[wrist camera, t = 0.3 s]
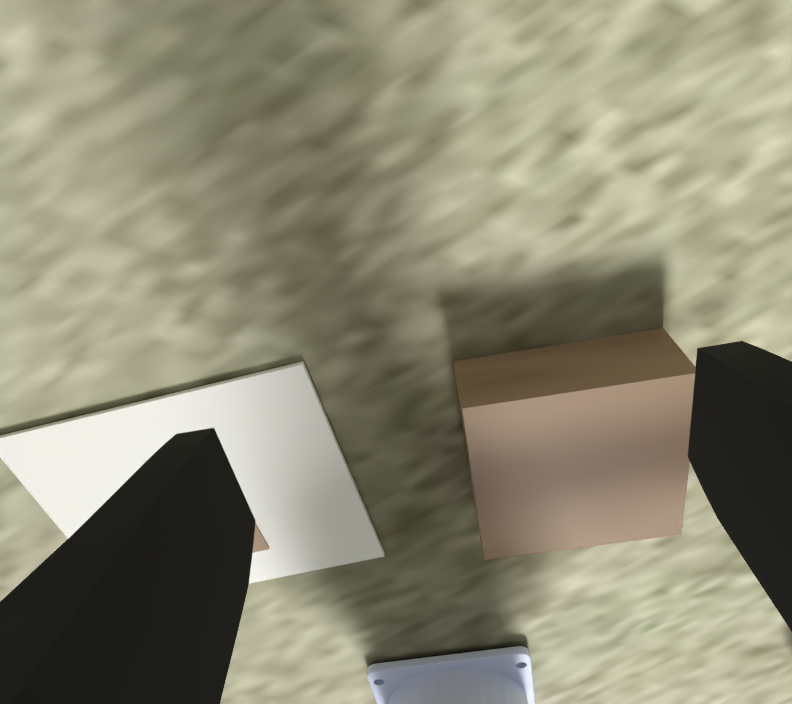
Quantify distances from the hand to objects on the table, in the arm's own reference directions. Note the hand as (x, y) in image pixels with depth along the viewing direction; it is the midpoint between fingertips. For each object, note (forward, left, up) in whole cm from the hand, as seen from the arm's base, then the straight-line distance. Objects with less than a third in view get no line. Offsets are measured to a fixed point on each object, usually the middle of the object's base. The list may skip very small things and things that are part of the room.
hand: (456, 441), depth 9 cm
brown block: (-8, -4, -10) cm, 14 cm away
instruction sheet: (-9, +10, -10) cm, 17 cm away
